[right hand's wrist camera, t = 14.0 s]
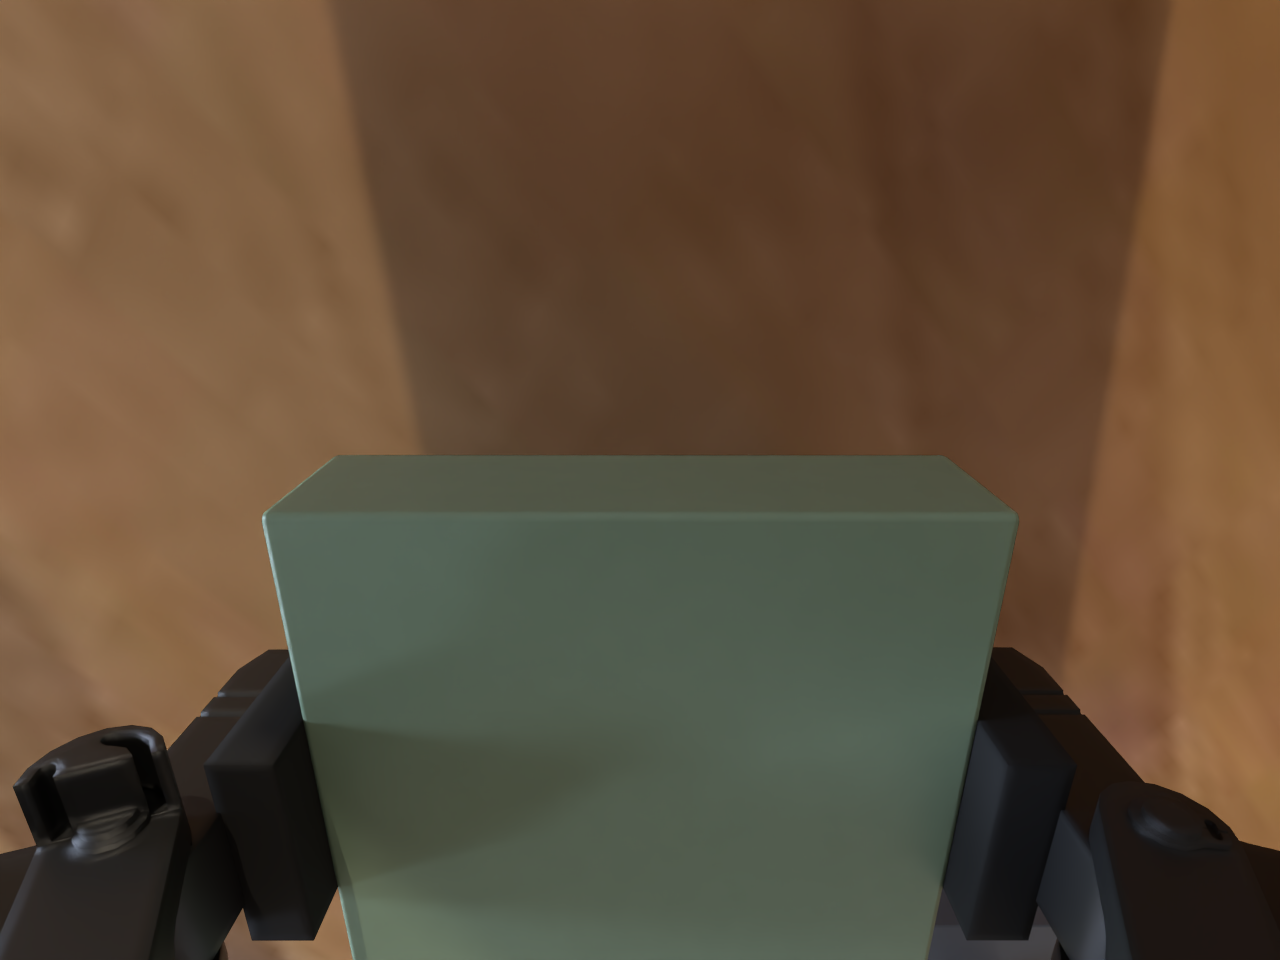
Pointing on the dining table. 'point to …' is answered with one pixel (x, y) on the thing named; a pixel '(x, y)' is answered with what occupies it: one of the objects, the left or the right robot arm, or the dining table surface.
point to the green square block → (640, 697)
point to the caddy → (959, 956)
